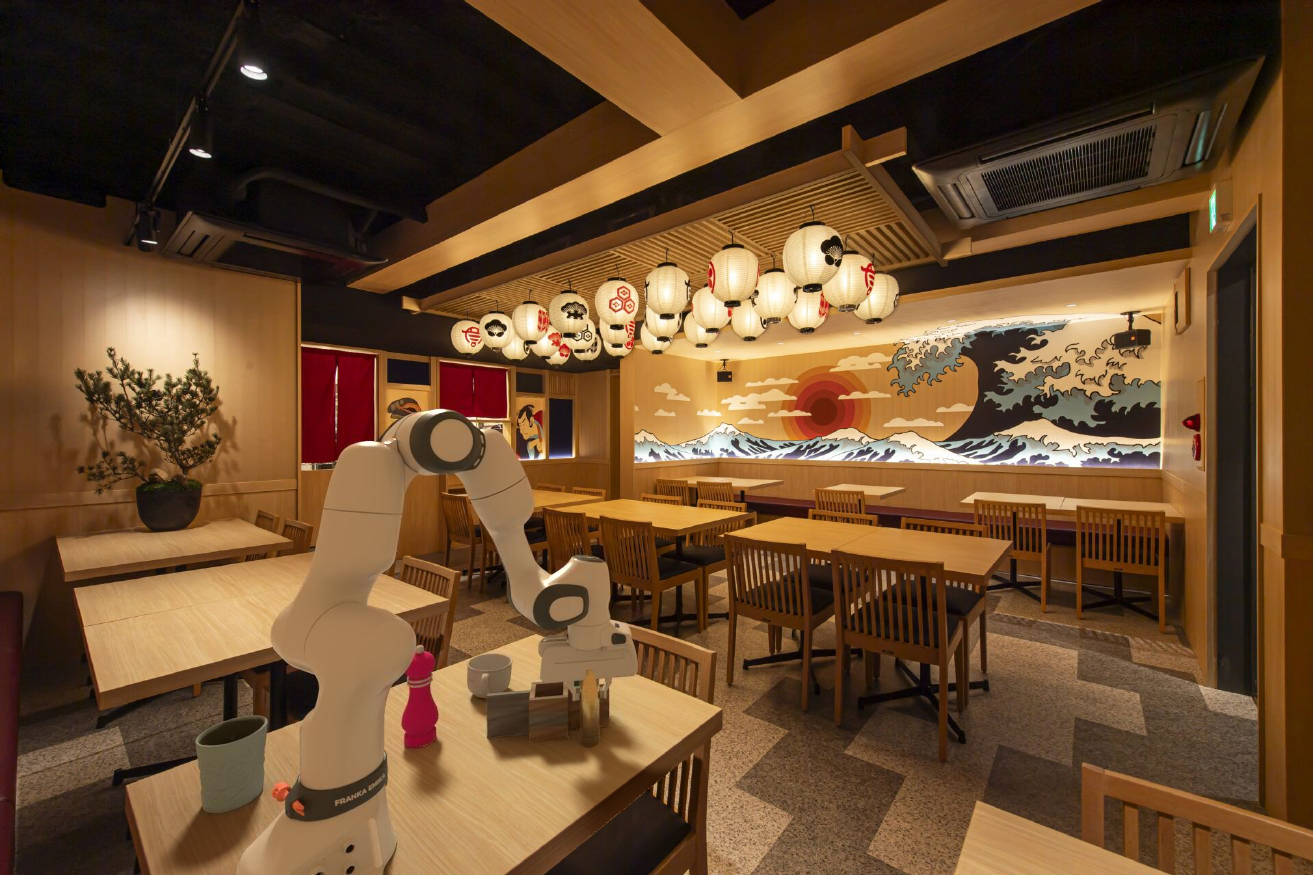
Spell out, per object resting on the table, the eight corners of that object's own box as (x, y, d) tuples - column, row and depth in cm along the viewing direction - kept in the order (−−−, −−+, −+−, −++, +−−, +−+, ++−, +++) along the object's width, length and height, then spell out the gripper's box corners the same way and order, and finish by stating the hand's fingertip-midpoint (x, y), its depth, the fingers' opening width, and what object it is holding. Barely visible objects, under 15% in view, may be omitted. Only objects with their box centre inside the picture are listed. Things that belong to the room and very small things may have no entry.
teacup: (476, 681, 138) (476, 651, 137) (518, 682, 137) (517, 651, 137) (454, 710, 124) (454, 676, 124) (500, 710, 123) (499, 676, 123)
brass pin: (590, 749, 108) (590, 671, 108) (576, 743, 110) (575, 666, 110) (603, 740, 111) (603, 664, 111) (589, 734, 113) (588, 660, 113)
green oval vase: (211, 824, 88) (211, 752, 88) (185, 803, 93) (184, 735, 92) (279, 788, 97) (279, 723, 96) (251, 771, 101) (251, 709, 101)
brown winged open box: (610, 735, 113) (610, 693, 113) (484, 747, 109) (484, 704, 109) (608, 715, 121) (607, 676, 121) (490, 726, 117) (489, 685, 117)
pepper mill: (424, 751, 108) (423, 653, 107) (393, 747, 109) (392, 650, 109) (445, 731, 115) (445, 640, 114) (416, 728, 116) (415, 637, 116)
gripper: (537, 642, 106) (537, 710, 106) (638, 635, 109) (639, 701, 109) (539, 630, 112) (539, 695, 112) (635, 624, 115) (635, 687, 115)
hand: (589, 698), depth 111 cm, fingers open, 4 cm apart
